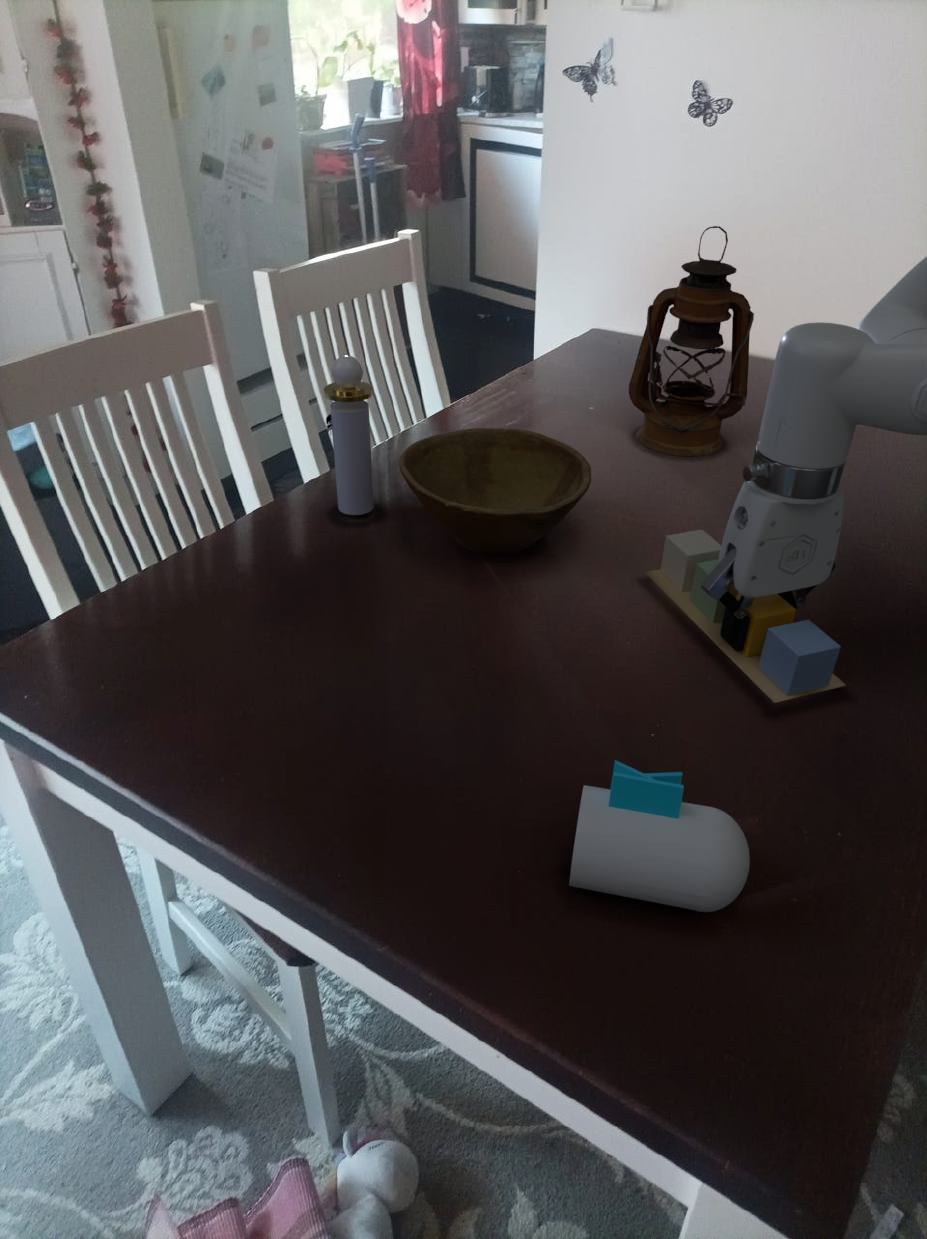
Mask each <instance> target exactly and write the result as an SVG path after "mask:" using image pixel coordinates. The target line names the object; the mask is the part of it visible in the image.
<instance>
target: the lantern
mask: <svg viewBox="0 0 927 1239" xmlns="http://www.w3.org/2000/svg"><path fill="white" fill-rule="evenodd" d="M710 229H719V230H720V231H722V232H723V233H724V234H725V235H724V236H725V245H724V249H723V251H722V253H721V257H720V258H719V259H718V260H717V259H715V260H714V259H704V258H703V257H702V256H701V253H700V252H701V244H702V239H703V236H704V235H705V232H707V231H709V230H710ZM728 238H729V237H728V233H727V230H725V229H724V228H722V227H721V226H720V225H719V226H718V225H714V226H708V227H707V228H705V229H704V230H703V232H702V234H701V236H700V237H699V245H698V250H697V251H698V252H697V256H698V260H692V261H689V262H685V263H683V264H682V265H681V268H682V270H683V271H684V272H686V273H687V274H689V275H688V276H684V277H682V278H680V279H679V284H678V286H676V287H668V288H664V289H663V290H662V291H660V292H659V293H657V295H656V296H655V298H654V300H653V302H652V304H650V305H649V306H648V307H647V312H646V314H647V315H646V325H645V330H644V332H643V336H642V340H641V342H640V345H639V348H638V353H637V356H636V359H635V364H634V368H633V371H632V374H631V378H630V380H629V384H628V395H629V400H630V401H631V403H632V405H633V406H634V407H635V408H636V409H638V410H639V411H640V412H641V413H643V421H642V425H641V426H640V427H639V428H638V429H637V430H636V433H635V437H636V440H637V441H638V443H639V444H640V445H642V446H644V447H645V448H647V449H649V450H652V451H653V452H655V453H661V454H664V455H668V456H669V455H670V456H677V457H687V458H689V457H700V456H701V457H702V456H709V455H710V454H711V455H712V454H715V453H717V452H719V451H720V450H721V449H722V448H723V446H724V441H723V437H722V435H721V428H722V423H723V420H726V419H728V418H731V417H733V416H735V415H736V414H737V413H739V412H740V411H741V410H742V408H743V406H746V399H747V396H748V382H749V379H748V378H749V360H750V359H749V358H750V335H751V329H752V327H753V323H754V319H755V313H754V312H753V311H751V305H750V303H749V300H748V299H747V298H746V296H745V294H743V293H740V292H737V291H733V290H732V283H731V282H730V281H728V280H727V277H728V276H731V275H734V274H737V270H738V269H737V268H736V267H735V266H733V265H731V264H729V263H726V262H722V260H723V259H724V256H725V252H726V250H727V246H728V242H729V239H728ZM730 310H732V314H731V312H730ZM668 312H669V314H670V315H671V316H672V317H674V318H677V319H678V325H677V328H676V330H674V331H673V332H672V333H671V335H670V337H669V341H670V342H671V343H672V344H673V345H676V346H678V347H682V348H686V349H687V348H688V349H694V350H701V351H698V352H697V353H695V354H691V353H690V352H687V351H686V350H683V349H680V348H678V347H676V346H671V345H666V346H664V348H663V349H662V352H663V354H661V353H660V352H658V351H657V348H658V345H659V342H660V338H661V335H662V330H663V327H664V323H665V321H666V316H667V314H668ZM731 318H732V324H731V325H732V326H731V327H732V328H731V357H730V359H731V361H730V370H729V374H728V379H727V383H726V388H725V390H724V394H722V396H721V397H720V398H719V400H718V401H717V402H716V403H715V402H706V401H707V400H709V399H711V398H713V397H715V395H716V390H715V388H714V387H715V384H714V383H713V380H712V378H711V377H708V380H709V384H710V385H707V384H705V383H703V382H702V381H701V380H700V379H697V377H699V376H701V374H703V373H705V374H706V375H707V374H708V375H707V376H709V371H711V370H712V369H713V368H715V367H717V366H718V365H720V364H722V362H723V361H724V359H725V357H726V353H727V351H726V350H725V349H724V348H723V347H722V346H723V345H724V337H723V334H721V333H720V331H721V323H724V322H728V321H729V320H730V319H731ZM666 351H673V352H679V353H680V354H682V355H685V356H686V357H687V359H686V360H685V361H684V362H682V363H681V364H680V365H679V366H677V363H675V362H674V360H673V359H672V358H671V357H670V356H669V355H668V353H667V352H666ZM706 354H712V355H716V354H717V355H720V354H722V355H721V357H720V358H719V360H717V361H716V362H714V363H712V364H708V365H706V366H705V365H704V364H703V362H702V361H701V360H699V359H698V357H700V356H702V355H706ZM663 355H664V356H665V358H666V359H667V360H668V361H669V362H670V363H671V364H672V365H673V366H674V367H675V368H676V369H674V370H673V372H672V373H671V374H670V375H669V377H668V378H667V379H666V382H665V383H664V382H663V378H662V377H663V375H662V370H661V366H662V365H661V364H662V362H661V361H662V357H663ZM691 360H694V361H695V362H696V364H698V365H699V367H700V368H701V369H699V370H697V371H696V372H695V373H693V374H690V373H688V372H687V371H686V370H685V369H684V368H683V367H684V366H685V365H686V364H688V362H690V361H691ZM655 363H656V366H655ZM678 370H679V372H681V373H682V374H683V375H684V376H685V378H687V379H688V380H687V379H686V380H671V381H670V379H671V378H672V377H673V376H674V374H676V372H677V371H678ZM691 379H693V380H694V381H692V380H691ZM690 380H691V381H690ZM658 384H659V385H658ZM662 391H663V392H664V393H665V394H666V395H667V396H666V395H664V394H662V393H663V392H662ZM726 397H728V398H727V400H726ZM659 400H660V401H659ZM661 400H662V401H661Z"/></svg>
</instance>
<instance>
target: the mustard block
mask: <svg viewBox="0 0 927 1239" xmlns="http://www.w3.org/2000/svg"><path fill="white" fill-rule="evenodd" d="M740 598H741V594H740V593H739V592H738V594H737V596H736V599H737V600H738V601H739V600H740ZM796 611H797V612H798V609H797V610H796V609H795V608H794V607H793V606H791V605H790V604H789V603H788V602H787V601H785V600H784V599H783V598H782V597H781V596H780V595H778V594H772V595H767V596H762V597H756V598H755V599H754V601H753V603H752V605H751V607H750V609H749V611H748V613H747V616H748V617H749V618H750V623H749V627H748V632H747V636H746V640H745V644H744V648H743V650H742V652H743V653H744V654H745V655H746V656H747V657H749V656H753V655H758V654H762V650H763V646H764V643H765V639H766V635H767V631H768V628H772V627H777V626H781V625H786V624H791V623H793V622H794V623H795V619H796V616H795V615H797V612H796ZM794 618H795V619H794Z"/></svg>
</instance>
